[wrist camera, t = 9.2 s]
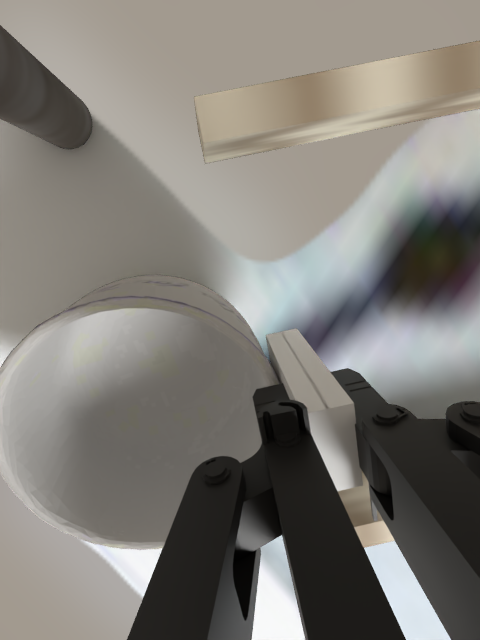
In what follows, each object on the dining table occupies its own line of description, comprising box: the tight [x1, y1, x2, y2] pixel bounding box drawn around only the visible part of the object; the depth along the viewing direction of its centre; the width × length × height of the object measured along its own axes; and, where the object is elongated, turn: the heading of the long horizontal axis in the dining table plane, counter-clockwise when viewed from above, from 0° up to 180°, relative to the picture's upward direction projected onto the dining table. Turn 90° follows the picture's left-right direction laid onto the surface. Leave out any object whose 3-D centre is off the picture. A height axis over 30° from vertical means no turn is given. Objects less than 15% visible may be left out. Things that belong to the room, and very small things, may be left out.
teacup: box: [0, 275, 280, 550], centre depth 16 cm, size 14×11×8 cm
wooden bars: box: [0, 25, 480, 548], centre depth 16 cm, size 27×27×10 cm
